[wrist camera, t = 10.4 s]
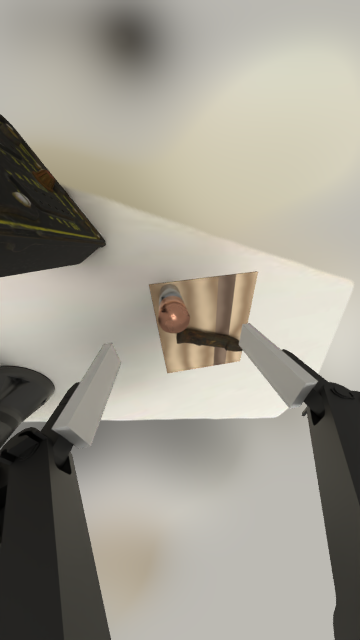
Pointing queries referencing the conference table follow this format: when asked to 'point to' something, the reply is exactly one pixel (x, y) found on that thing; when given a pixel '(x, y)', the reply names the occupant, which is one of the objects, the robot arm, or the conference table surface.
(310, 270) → the conference table surface
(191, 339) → the hand tool
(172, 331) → the copper and grey cylinder
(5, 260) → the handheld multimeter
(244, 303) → the plywood sheet
